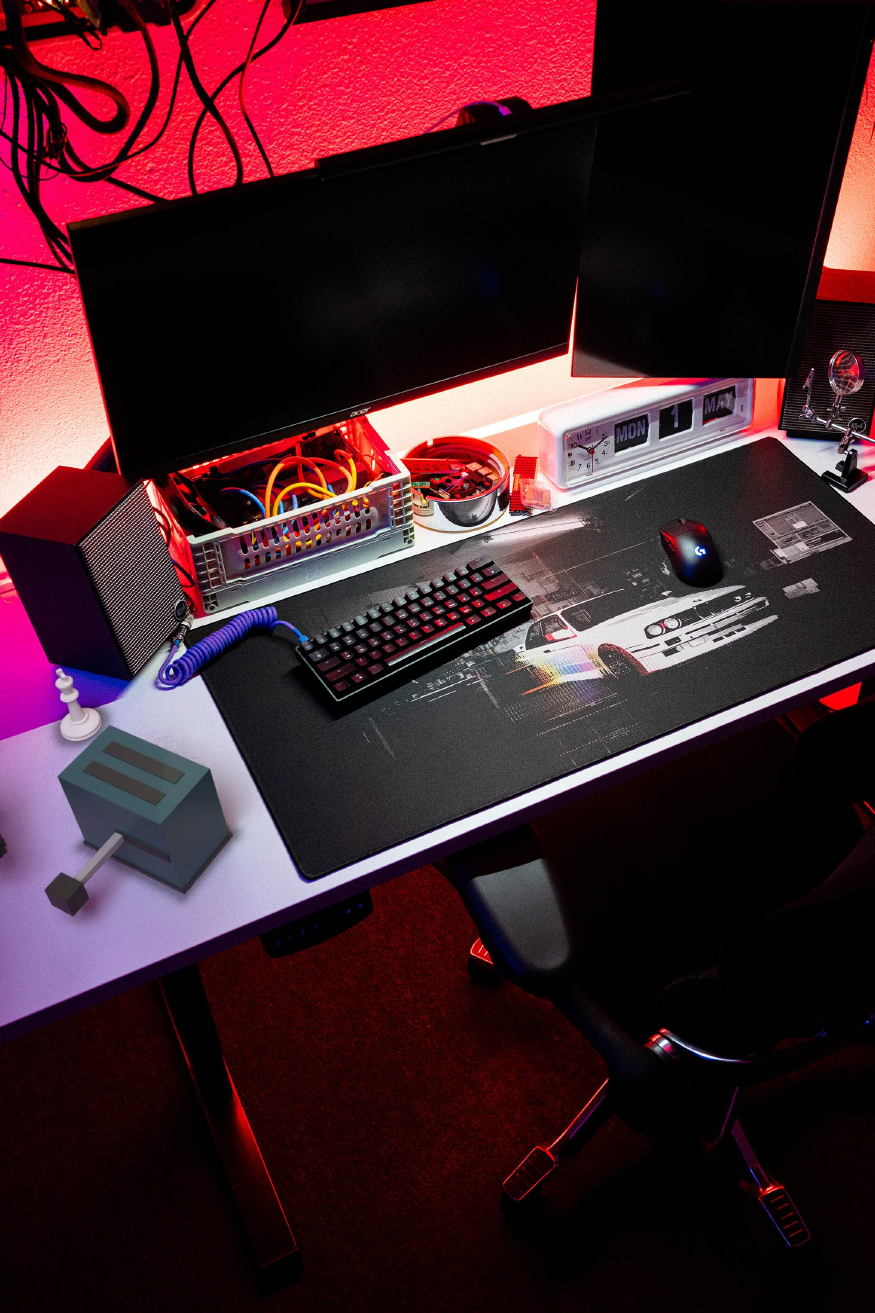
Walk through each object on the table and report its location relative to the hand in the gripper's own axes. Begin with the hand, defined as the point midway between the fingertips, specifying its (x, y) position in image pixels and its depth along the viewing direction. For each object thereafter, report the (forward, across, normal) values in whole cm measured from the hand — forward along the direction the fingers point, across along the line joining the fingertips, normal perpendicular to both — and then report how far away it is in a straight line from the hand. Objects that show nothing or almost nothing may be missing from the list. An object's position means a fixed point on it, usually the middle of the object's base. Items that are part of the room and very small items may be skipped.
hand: (0, 852), depth 117 cm
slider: (+8, +3, +3) cm, 10 cm away
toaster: (+8, +12, +8) cm, 17 cm away
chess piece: (-12, +21, +8) cm, 26 cm away
